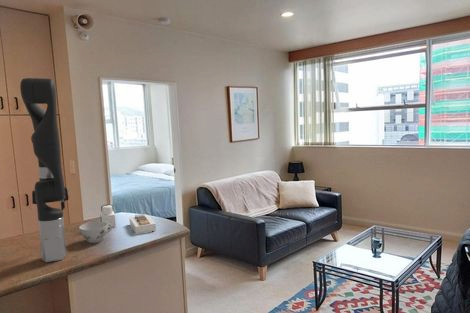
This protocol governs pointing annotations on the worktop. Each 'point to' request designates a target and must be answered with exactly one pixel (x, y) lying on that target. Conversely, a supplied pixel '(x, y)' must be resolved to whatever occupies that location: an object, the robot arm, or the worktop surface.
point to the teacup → (94, 231)
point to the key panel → (142, 228)
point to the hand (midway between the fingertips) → (51, 210)
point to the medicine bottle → (108, 215)
